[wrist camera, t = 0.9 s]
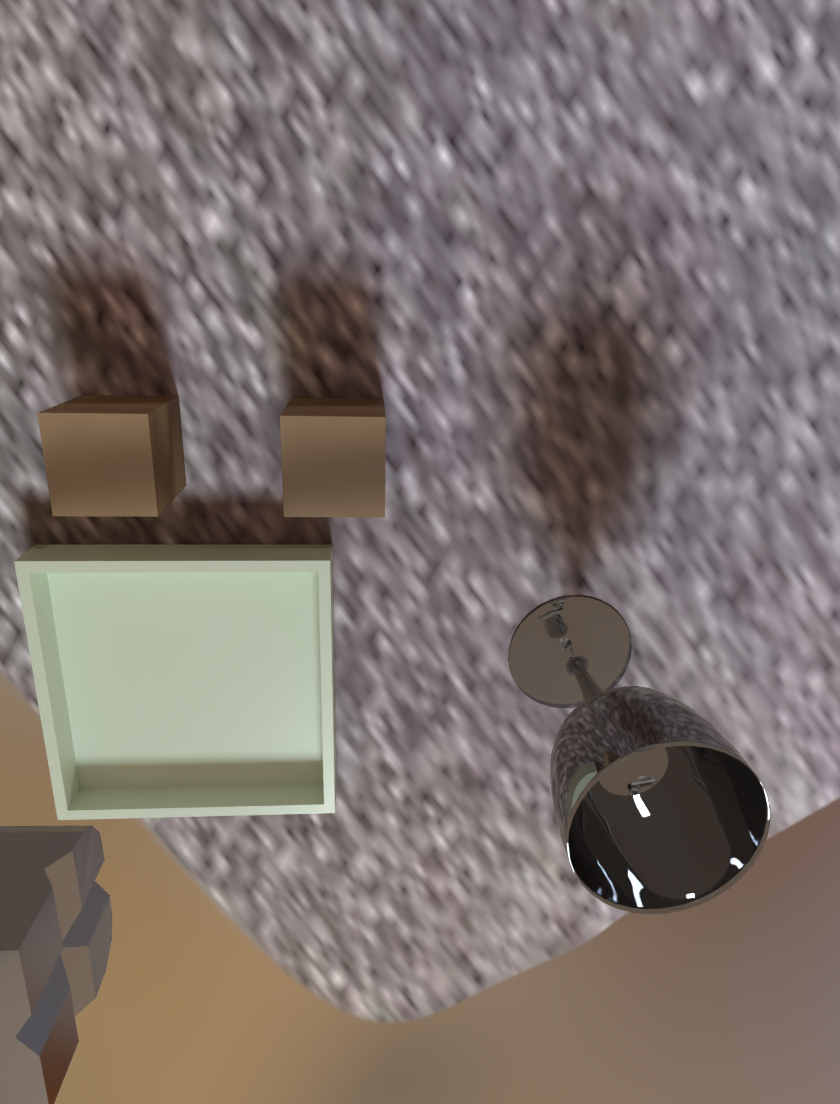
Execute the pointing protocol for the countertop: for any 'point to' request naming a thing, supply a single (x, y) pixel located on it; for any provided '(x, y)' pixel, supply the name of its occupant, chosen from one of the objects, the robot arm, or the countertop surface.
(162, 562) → the tray
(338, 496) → the block
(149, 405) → the block
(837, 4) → the countertop surface
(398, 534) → the countertop surface
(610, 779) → the wine glass
